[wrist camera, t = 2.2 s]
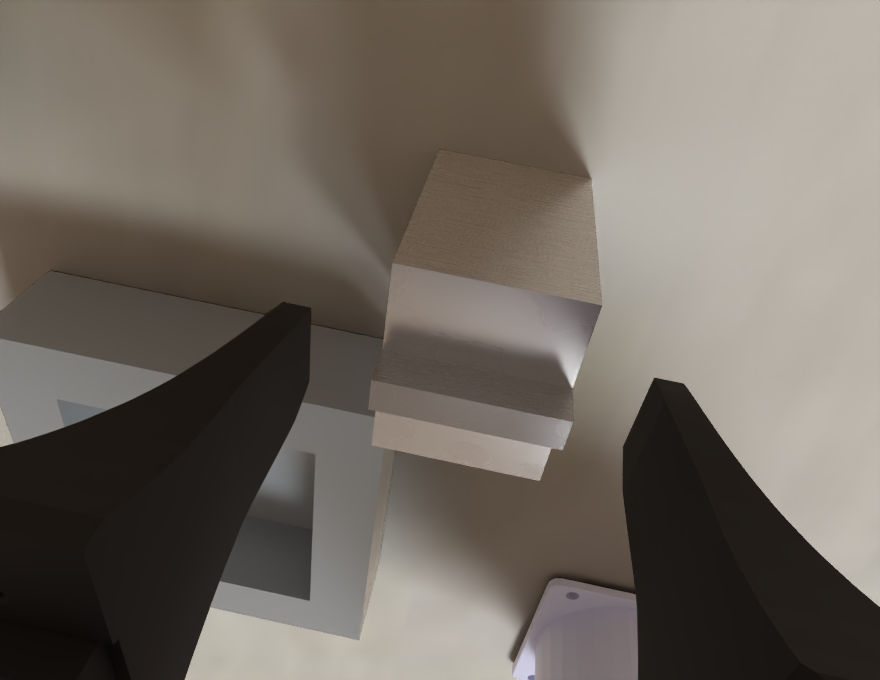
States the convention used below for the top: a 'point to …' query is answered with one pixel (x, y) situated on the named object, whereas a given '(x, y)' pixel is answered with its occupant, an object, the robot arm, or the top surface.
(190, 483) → the robot arm
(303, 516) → the well block
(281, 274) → the top surface
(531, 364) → the bracket
